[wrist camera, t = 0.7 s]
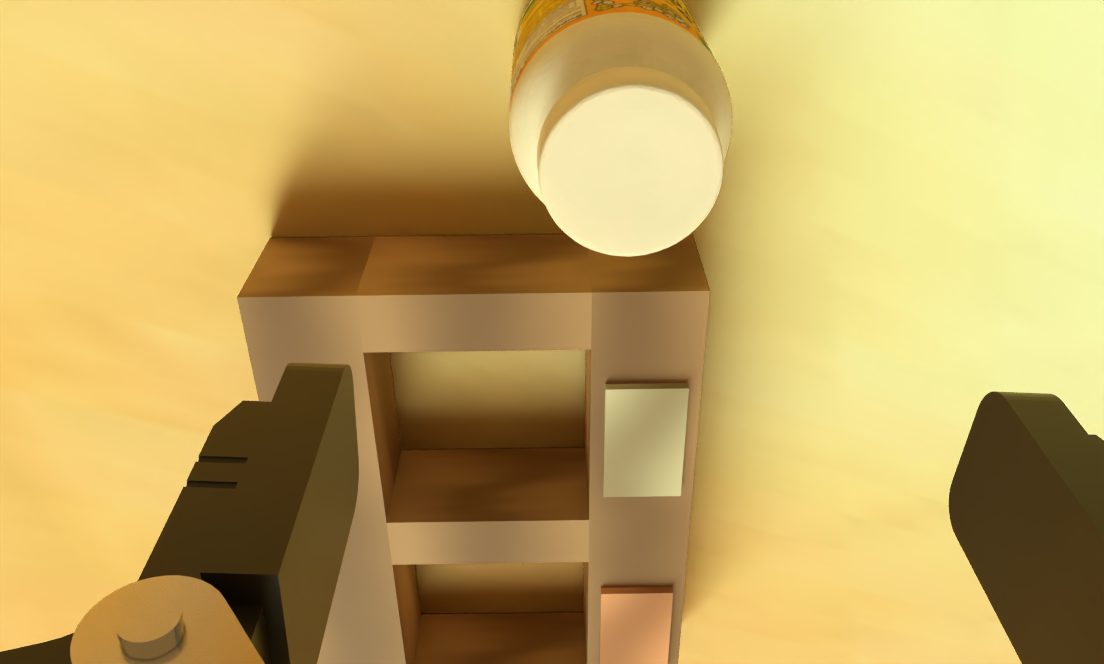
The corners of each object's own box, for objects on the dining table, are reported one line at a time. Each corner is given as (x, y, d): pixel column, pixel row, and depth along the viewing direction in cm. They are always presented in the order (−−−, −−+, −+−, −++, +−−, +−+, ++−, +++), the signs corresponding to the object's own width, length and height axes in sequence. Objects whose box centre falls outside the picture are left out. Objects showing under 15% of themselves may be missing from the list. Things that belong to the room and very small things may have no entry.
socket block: (692, 232, 32) (711, 295, 28) (662, 642, 42) (673, 728, 38) (270, 237, 32) (234, 302, 28) (345, 646, 42) (326, 732, 38)
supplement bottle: (477, 48, 28) (450, 170, 20) (611, -87, 27) (641, -12, 18) (599, 170, 30) (619, 326, 22) (731, 53, 29) (806, 177, 20)
